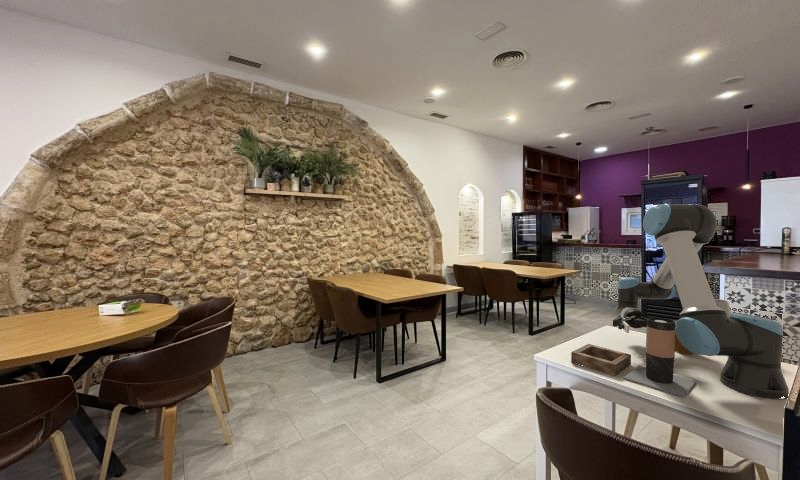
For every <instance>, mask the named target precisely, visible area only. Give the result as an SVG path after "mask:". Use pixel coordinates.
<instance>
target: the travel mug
mask: <svg viewBox="0 0 800 480" xmlns="http://www.w3.org/2000/svg"><path fill="white" fill-rule="evenodd" d="M673 320H674V319H673ZM673 320H672V319H669V318H664V317H658V316H657V317H655V316H654V317H653V316H651V317H649V318H648V319H647V328H646V335H645V336H646V338H645V367H646V377H647V378H648V379H650V380H652V381H655V382H658V383H663V384H671V383H672V382H673V375H674V373H675V372H674V369H675V352H676V351H675V322H674V321H673Z"/></svg>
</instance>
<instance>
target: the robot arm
mask: <svg viewBox="0 0 800 480" xmlns="http://www.w3.org/2000/svg"><path fill="white" fill-rule="evenodd" d="M642 226H643V227H642V228H643V230H644V232H645V234H647V235H648V236H651V237H652V236H653V237H654V240H655V242H656V244H658V245H661V247H662V249H663V252H664V253H665V257H666V258H665V260H663V262H662V263H661V265H660V267H659V269H658V270H657V271H656V273H655V275H654V277H653V278H652V279H651V281H646V282H645V281H639V279H638V278H636V277H629V276H622V277H620V278H618V281H617V305H616V306H615V312H616V315H617V317H616V318H613V320H612V327H614V328H615V327H618V330H624V332H625V333H627V334H630V328H632V329H642V328H646V329H647V319H649V318H647V316H646V315H645V314H644V313H643V312H642V311H641V310H639V309H638V307H639V300H659V301H660V300H670V299H673V298H675V295H676V292H677V293H678V294H677V295H678V297H679V300H680V303H681V307H682V310H681V312H680V313H679V319H677V320H678V321H677V322H676V325H675V332H676V335H677V338H678V340H679V341H680V343H681V344H682V345H683V346H684V347H685V348H686V349H688V350H689V351H690V352H692V353H693V354H694V355H699V356H708V357H714V356H719V357H720V356H721V357H727V360H726V362H725V364H724V366H723V367H722V369H721V371H720V374H719V381H720V382H721V383H722V384H723V385H725V386H726V387H728V388H730V389H733V390H735V391H738V392H741V393H744V394H746V395H747V394H748V395H750V396H755V397H759V398H763V399H764V398H765V399H770V400H771V399H772V400H773V399H774V400H780V399H779V398H781V397H783V396H784V397H785V399H787V397H788V398H789V396H788V394H789V393H790V391H789V386H788V385H787V381H786V379H785V377H784V374H783V372H782V352H783V339H784V338H783V337H784V334H783V326H782V325H781V323H779V322H778V321H776V320H773V319H769V318H765V317H761V316H757V315H752V314H748V313H747V314H746V313H739V312H731V314H730V316H729V318H727V315H726V312H725V310H723V309H721V308H719V307H718V306H716V303H715V300H714V299H715V298H714V295H713V293H712V290H711V288H710V284H709V282H708V279H707V276H706V274H705V271H704V268H703V265H702V263H701V260H700V257H699V254H698V253H699V251H700V250H701V248H702V247H703V246H704V245H706V244H709V243H710V242H711V241H712V239H713V237H714V236H715V235H716V231H717V228H718V221H717V216H716V214H715V213H714V212H713V210H711V209H710V208H709V207H707V206H705V205H704V204H703V205H702V204H698V203H690V204H689V203H685V204H684V203H683V204H681V203H678V204H677V203H675V204H672V203H663V204H661V203H660V204H654V205H652V206H651V207H649V209H647V211H646V212H645V214H644V216H643V220H642ZM674 285H675V286H674ZM676 326H677V327H676ZM789 395H790V394H789Z"/></svg>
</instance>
